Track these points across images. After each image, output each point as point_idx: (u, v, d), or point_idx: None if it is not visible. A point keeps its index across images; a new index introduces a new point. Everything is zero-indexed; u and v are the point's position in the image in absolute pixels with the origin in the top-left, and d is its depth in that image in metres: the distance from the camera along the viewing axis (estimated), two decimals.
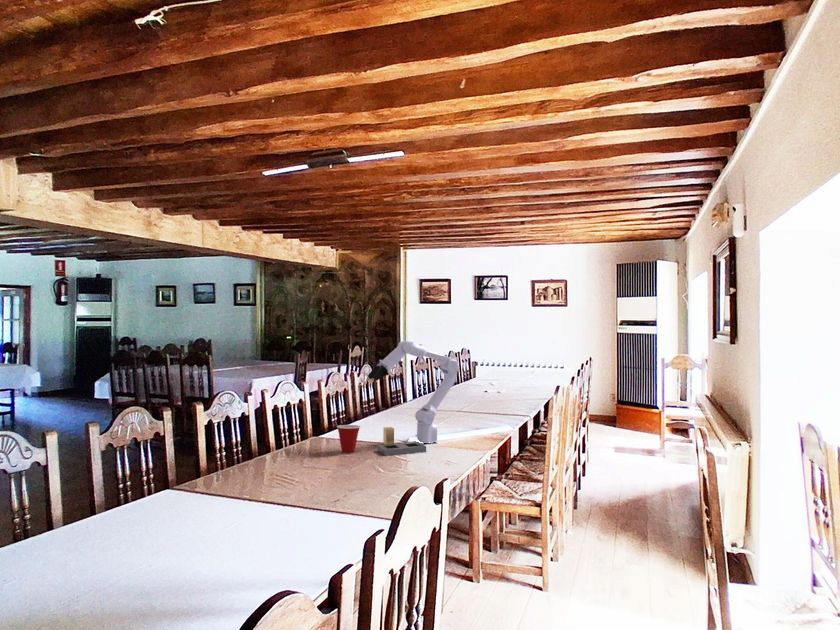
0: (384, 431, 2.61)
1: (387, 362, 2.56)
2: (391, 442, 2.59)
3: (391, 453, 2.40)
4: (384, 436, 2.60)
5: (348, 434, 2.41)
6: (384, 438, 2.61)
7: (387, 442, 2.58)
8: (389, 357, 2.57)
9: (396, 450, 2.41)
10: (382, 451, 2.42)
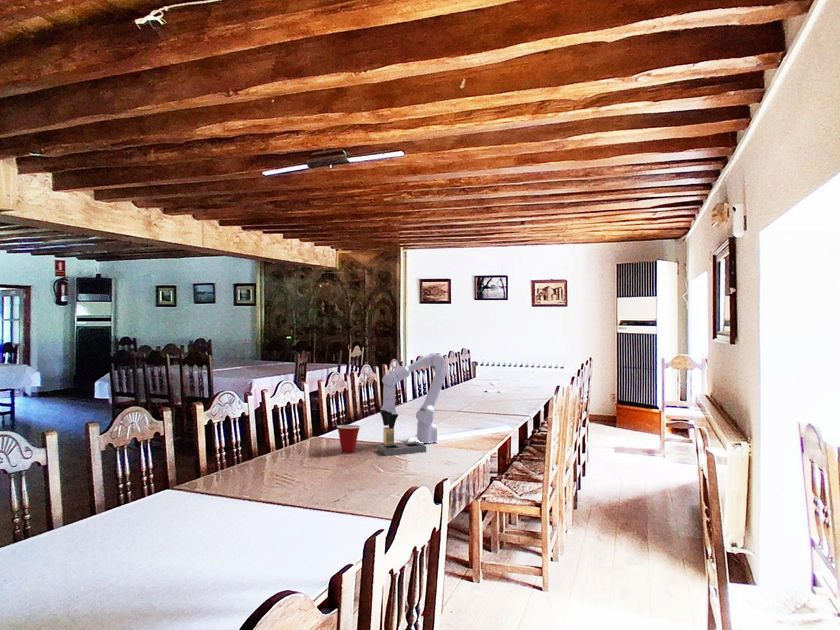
0: (384, 431, 2.61)
1: (388, 406, 2.58)
2: (391, 442, 2.59)
3: (391, 453, 2.40)
4: (384, 436, 2.60)
5: (348, 434, 2.41)
6: (384, 438, 2.61)
7: (387, 442, 2.58)
8: (386, 401, 2.59)
9: (396, 450, 2.41)
10: (382, 451, 2.42)
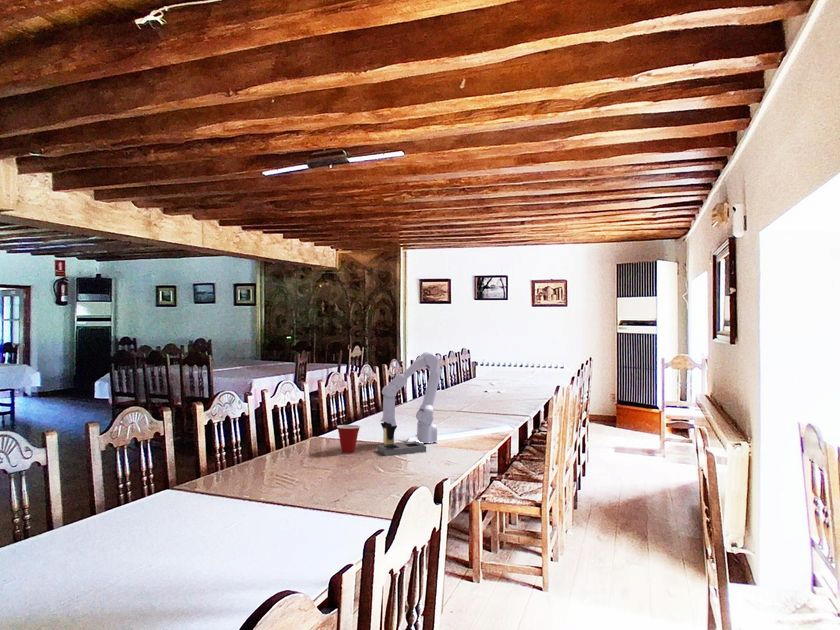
0: (384, 431, 2.61)
1: (388, 417, 2.58)
2: (391, 442, 2.59)
3: (391, 453, 2.40)
4: (384, 436, 2.60)
5: (348, 434, 2.41)
6: (384, 438, 2.61)
7: (387, 442, 2.58)
8: (385, 412, 2.59)
9: (396, 450, 2.41)
10: (382, 451, 2.42)
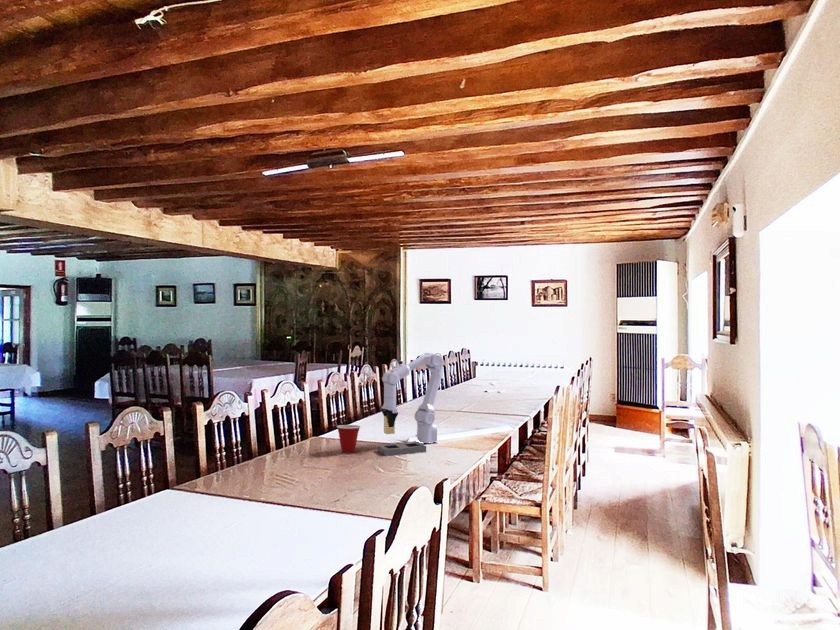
0: (384, 419, 2.55)
1: (389, 404, 2.53)
2: (392, 430, 2.54)
3: (391, 453, 2.40)
4: (385, 424, 2.55)
5: (348, 434, 2.41)
6: (384, 426, 2.55)
7: (387, 430, 2.53)
8: (386, 399, 2.53)
9: (396, 450, 2.41)
10: (382, 451, 2.42)
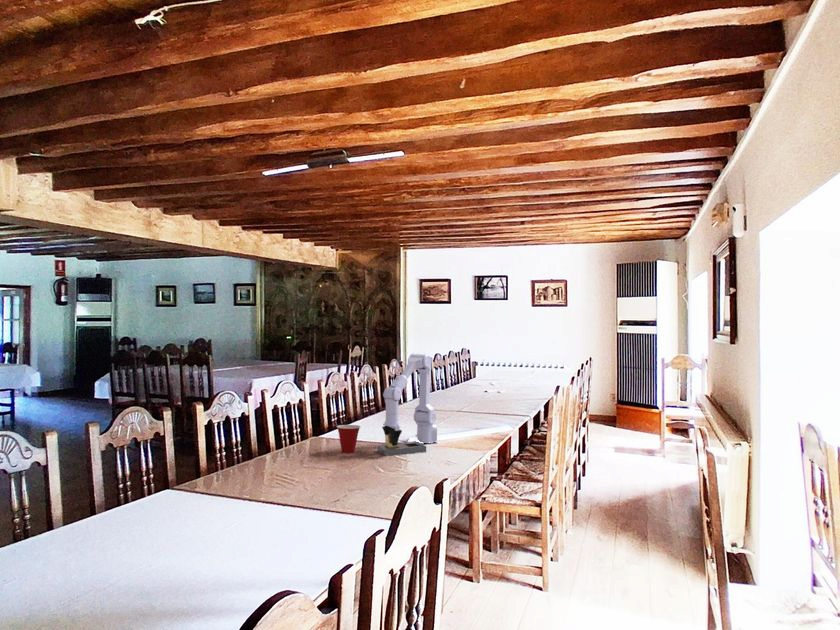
0: (386, 438, 2.45)
1: (391, 421, 2.43)
2: None
3: (391, 453, 2.40)
4: (386, 443, 2.45)
5: (348, 434, 2.41)
6: (386, 446, 2.45)
7: None
8: (388, 416, 2.43)
9: (396, 450, 2.41)
10: (382, 451, 2.42)
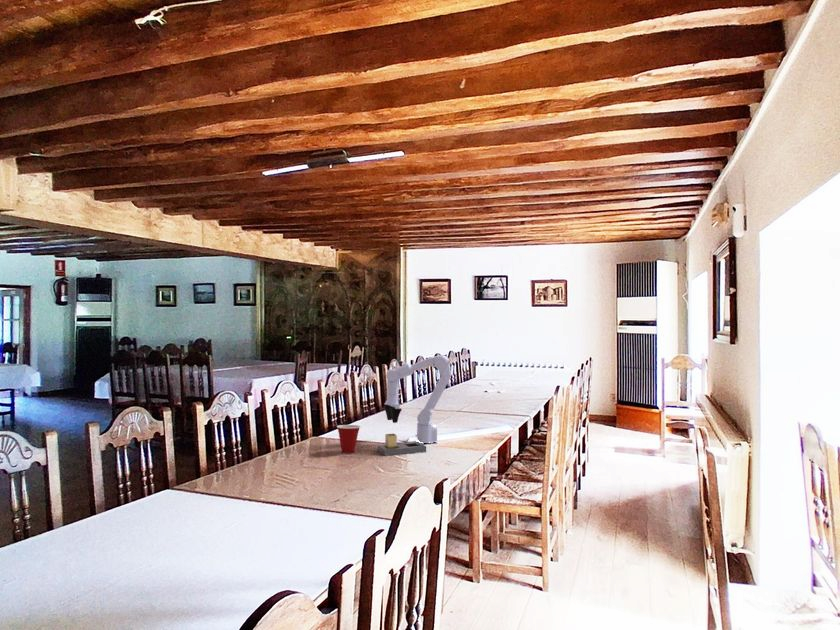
0: (386, 438, 2.45)
1: (391, 400, 2.65)
2: None
3: (391, 453, 2.40)
4: (386, 443, 2.45)
5: (348, 434, 2.41)
6: (386, 446, 2.45)
7: None
8: (389, 396, 2.66)
9: (396, 450, 2.41)
10: (382, 451, 2.42)
